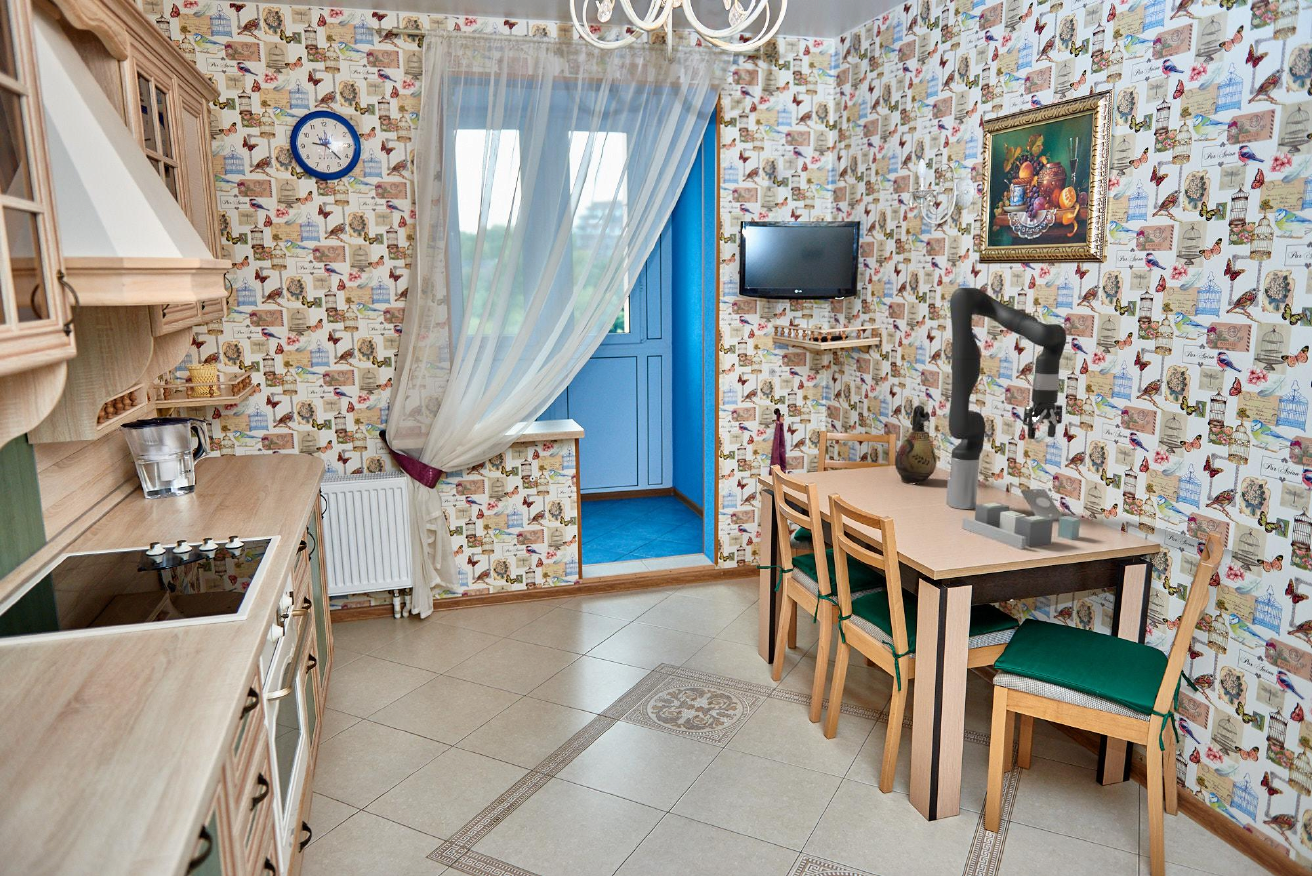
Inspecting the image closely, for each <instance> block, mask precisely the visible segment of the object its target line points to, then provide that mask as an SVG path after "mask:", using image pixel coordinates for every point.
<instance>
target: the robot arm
mask: <svg viewBox="0 0 1312 876" xmlns="http://www.w3.org/2000/svg"><path fill="white" fill-rule="evenodd" d="M949 308H950V311H949V312H950V319H951V320H950V322H951V335H952V336H951V341H952V342H951V343H952V344H951V347H952V348H951V349H952V350H951V351H952V352H951V392H950V394H951V395H950V405H949V414H948V430H949V433H950V435H951V436H952V438H953V439H956V440H960V442H959V443H958V445H957V446H954V447H953V449H952V450H951V459H950V460H951V462H950V474H949V475H950V476H949V477H947V486H946V487H947V488H946V489H947V490H946V502H945V504H946V505H948V507H951V508H955V509H958V510H959V509H960V510H973V509H976V505H977V500H978V499H977V497H978V487H979V486H978V485H979V474H980V473H979V472H980V471H979V469H980V460H981V459H980V457H981V454H982V452H983V450H984V449H983V448H984V443H985V434H986V422H985V418H984V416H983V415H982V414H981V413H980V412H978V411H969V407H970V405H969V404H970V399H971V395H972V392H973V390H974V389H975V387H976V384H977V382H978V380H979V378H980V374H981V358H982V357H981V352H980V347H979V346H978V343H977V341H976V337H975V336H974V332H973V325H972V324H973V323H972V322H973V316H974V315H976V316H981V317H985V318H987V319H991V320H993V321H995V322H996V323H998V324H999V325H1000V327H1003V328H1004V329H1006V330H1008V331H1009V332H1012V333H1014V334H1017V335H1019V336H1021V337H1024V338H1025V339H1026V340H1028V341H1029V342H1031V343H1032V344H1034V345H1036V346H1039V347H1043V348H1042V352H1041V354H1039V355H1037V356H1036V358H1035V364H1034V375H1033V379H1032V388H1031V389H1032V390H1031V402H1032V403H1033V405H1032V406H1025V407H1024V412H1023V421H1022V425H1023V426H1026V427H1027V438H1028V440H1035V439H1036V431H1037V428H1036V427H1037V425H1038V424H1039V423H1040V422H1041V421H1042V420H1043V421H1044V420H1045V421H1046V422H1047V423H1048V426H1047V437H1048V438H1055V436H1056V430H1057V426H1058V425H1059V424H1062V422H1063V405H1062V404H1057V402H1058V396H1059V386H1060V365H1061V364H1060V363H1061V362H1060V361H1061V358H1062V355H1063V353H1064V349H1065V347H1066V344H1067V332H1066V328H1064V326H1062V325H1061V324H1058V323H1049V324H1048V323H1044V322H1041V321H1039V320H1038V319H1037V318H1036V317H1035V316H1034V315H1031V314H1030V313H1027V312H1024V311H1022V310H1019V309H1017V308H1015V307H1011V306H1009V305H1007V304H1004V303H1003V302H1000V301H999V300H997V299H996V298H993V296H990V294H988V293H986V292H985V291H983V290H981V289H979V288H978V287H959V288H956V289H954V291H953V292H952V294H951V296H950V300H949Z"/></svg>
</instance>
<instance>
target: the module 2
mask: <svg viewBox="0 0 1312 876" xmlns="http://www.w3.org/2000/svg"><path fill="white" fill-rule="evenodd" d="M1080 526H1081V518H1079V517H1078V518H1077V517H1073V516H1069V515H1065V516H1063V517H1060V518H1059V521H1058V526H1057V527H1058V528H1057V537H1059V538H1062V539H1067V540H1070V541H1073V540H1075V539H1079V536H1080Z"/></svg>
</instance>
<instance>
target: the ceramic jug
mask: <svg viewBox="0 0 1312 876" xmlns="http://www.w3.org/2000/svg"><path fill="white" fill-rule="evenodd" d="M930 416H931V415H930V413H929V411H925V407H924V406H923V405H921V404H917V405H915V406H914V409H913V412H912V423H911V425H912V426H911V432H910V433H909V434H908V435H907V436H906V437H905V439H904V440H903V441H902V442H901V444H900V446H899V448H898V449H897V453H896V455H895V460H894V465H895V469H896V472H897V473H898V475H899V476H900V481H901V482H902V483H903V482H904V484H909V483H915V484H914V485H921V484H920V483H924V484H926V482H927V480H928V479H929V478H930V477H931V476H932V475H933V474H934V472H935V470H936V467H937V466H936V465H937V457H936V456H937V455H936V452H935V448H934V445H933V444H932V441H931V439H930V438H929V436H928V435H927V432H926V430H925V422H927V421H929V420H930Z"/></svg>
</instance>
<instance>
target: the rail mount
mask: <svg viewBox="0 0 1312 876" xmlns="http://www.w3.org/2000/svg"><path fill="white" fill-rule="evenodd" d="M1006 511H1010V505H1006V504H1003V503H1000V502H991V503H985V504H984V503H981V504H976V508H975V511H974V519H973V518H969V517H962V526H961V529H962V530H965V529H966V530H965V531H967V532H970V531H971V532H972V533H973V534H976V533H977V534H976V535H979V534H980V535H979V536H982V537H985V538H988V539H990V538H991V539H990V540H994V541H996V540H997V541H996V542H999V543H1002V542H1003V543H1002V544H1004V545H1007V544H1008V546H1010V545H1011V547H1013V546H1014V547H1013V548H1017V549H1019V550H1026V547H1027V548H1031V547H1036V546H1043V545H1048V544H1049V545H1051V543H1052V539H1053V538H1052V534H1053V525H1054V524H1053V523H1054V521H1053V519H1051V518H1047V517H1044V516H1041V515H1038V516H1035V515H1033V516H1032V515H1031V516H1027V517H1023V518H1018V519H1017V532H1016V534H1015V533H1012V532H1009V531H1006V530H1003V529H1000V528H999V527H1000V514H1001V512H1006ZM971 532H970V533H971ZM1030 546H1031V547H1030Z"/></svg>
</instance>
